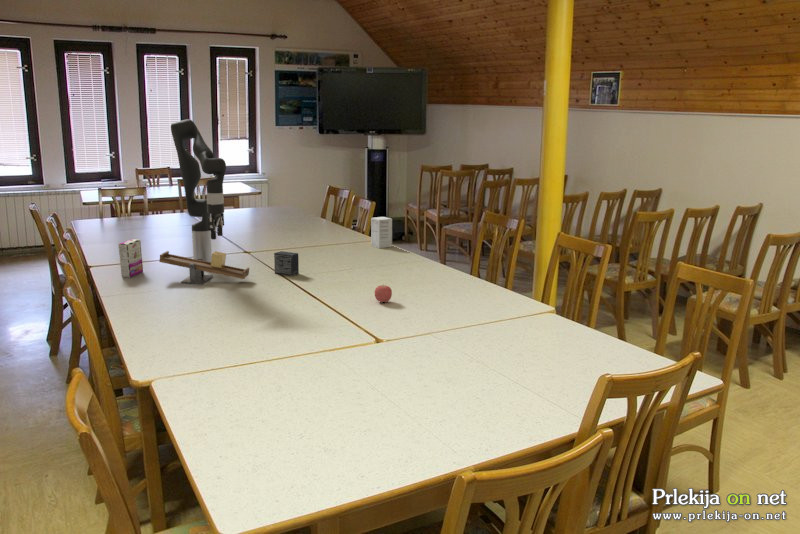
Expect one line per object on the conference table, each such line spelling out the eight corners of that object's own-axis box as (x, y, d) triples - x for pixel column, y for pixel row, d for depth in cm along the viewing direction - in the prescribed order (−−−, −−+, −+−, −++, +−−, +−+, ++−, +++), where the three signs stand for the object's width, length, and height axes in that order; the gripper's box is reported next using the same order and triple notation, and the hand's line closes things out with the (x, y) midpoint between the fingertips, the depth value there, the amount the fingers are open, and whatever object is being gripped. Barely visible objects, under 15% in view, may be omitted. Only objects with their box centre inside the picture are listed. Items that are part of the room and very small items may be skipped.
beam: (166, 258, 322) (167, 251, 321) (248, 274, 321) (249, 267, 320) (159, 261, 314) (160, 254, 313) (243, 279, 313) (244, 271, 312)
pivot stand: (192, 276, 326) (191, 257, 324) (212, 276, 325) (212, 258, 323) (181, 283, 313) (180, 264, 310) (202, 284, 312) (201, 265, 310)
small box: (299, 273, 335) (299, 252, 333) (292, 276, 330) (291, 255, 327) (281, 270, 340) (281, 250, 337) (274, 273, 334) (273, 252, 331)
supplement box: (392, 246, 400) (392, 218, 396) (379, 248, 395) (379, 219, 391) (383, 243, 408) (384, 216, 404) (370, 245, 403) (370, 217, 399)
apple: (375, 299, 295) (375, 281, 293) (392, 299, 295) (392, 282, 293) (373, 304, 288) (374, 286, 286) (391, 304, 287) (391, 286, 285)
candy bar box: (134, 271, 332) (131, 238, 328) (143, 272, 331) (141, 239, 327) (120, 277, 322) (117, 243, 318) (130, 278, 321) (127, 243, 317)
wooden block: (214, 265, 319) (215, 251, 318) (224, 267, 319) (226, 253, 317) (210, 268, 314) (212, 253, 313) (220, 270, 314) (222, 255, 313)
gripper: (212, 200, 317) (214, 234, 320) (201, 204, 303) (203, 240, 307) (228, 200, 316) (229, 234, 320) (218, 205, 302) (219, 240, 306)
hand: (216, 237), depth 313 cm, fingers open, 8 cm apart
